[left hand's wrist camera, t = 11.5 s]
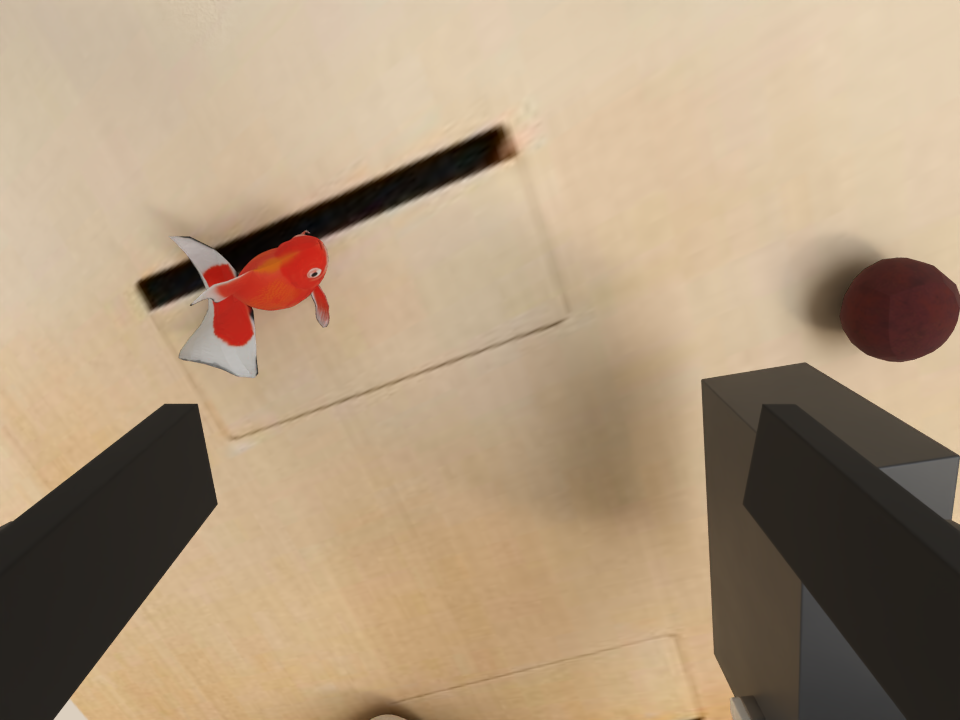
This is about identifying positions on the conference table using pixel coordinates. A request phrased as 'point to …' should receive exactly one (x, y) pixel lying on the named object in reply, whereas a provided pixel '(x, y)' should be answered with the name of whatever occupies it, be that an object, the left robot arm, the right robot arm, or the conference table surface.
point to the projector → (387, 717)
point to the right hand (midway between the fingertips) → (804, 694)
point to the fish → (250, 298)
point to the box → (761, 568)
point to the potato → (900, 309)
